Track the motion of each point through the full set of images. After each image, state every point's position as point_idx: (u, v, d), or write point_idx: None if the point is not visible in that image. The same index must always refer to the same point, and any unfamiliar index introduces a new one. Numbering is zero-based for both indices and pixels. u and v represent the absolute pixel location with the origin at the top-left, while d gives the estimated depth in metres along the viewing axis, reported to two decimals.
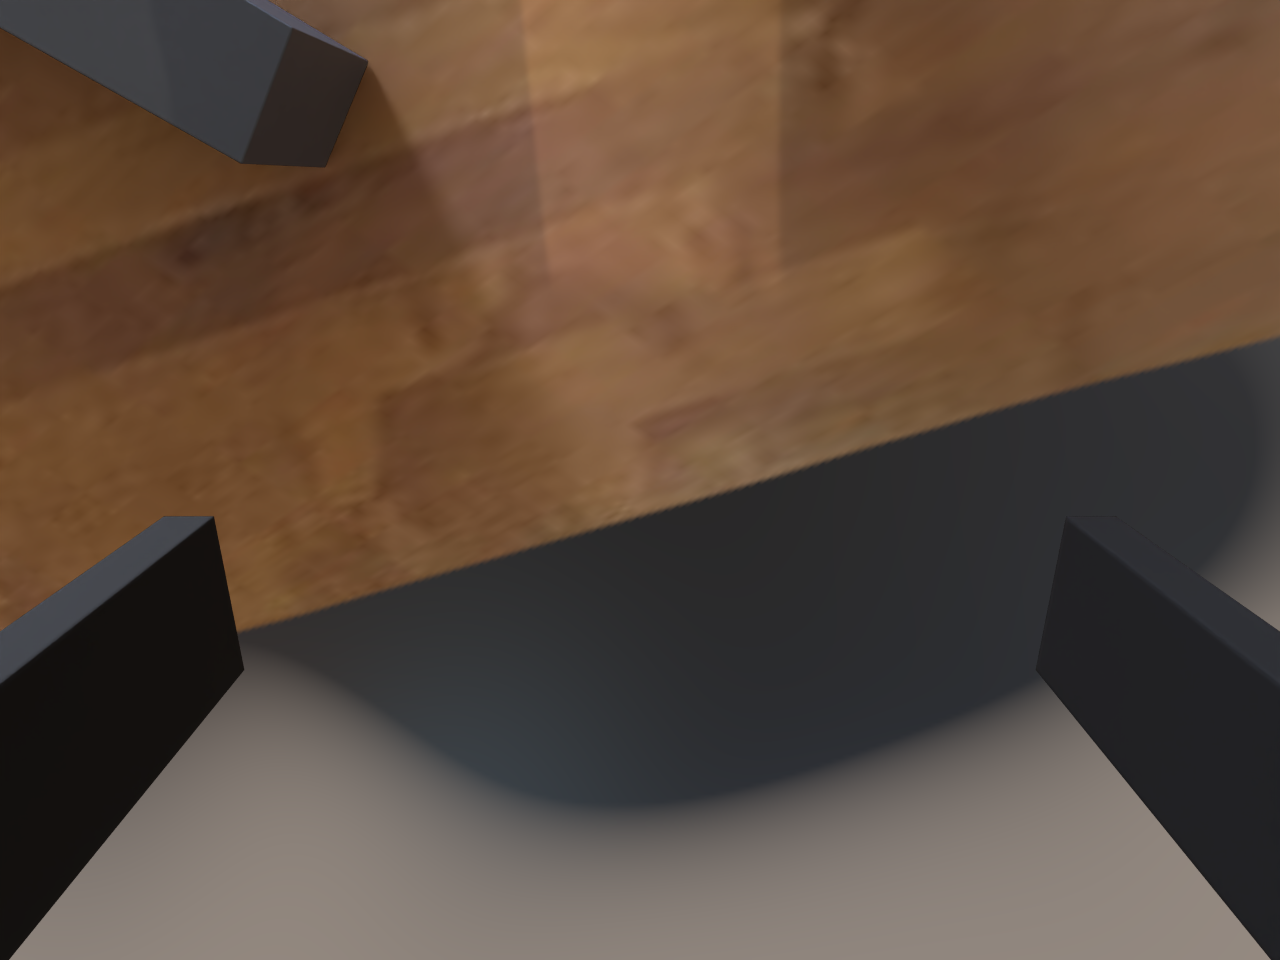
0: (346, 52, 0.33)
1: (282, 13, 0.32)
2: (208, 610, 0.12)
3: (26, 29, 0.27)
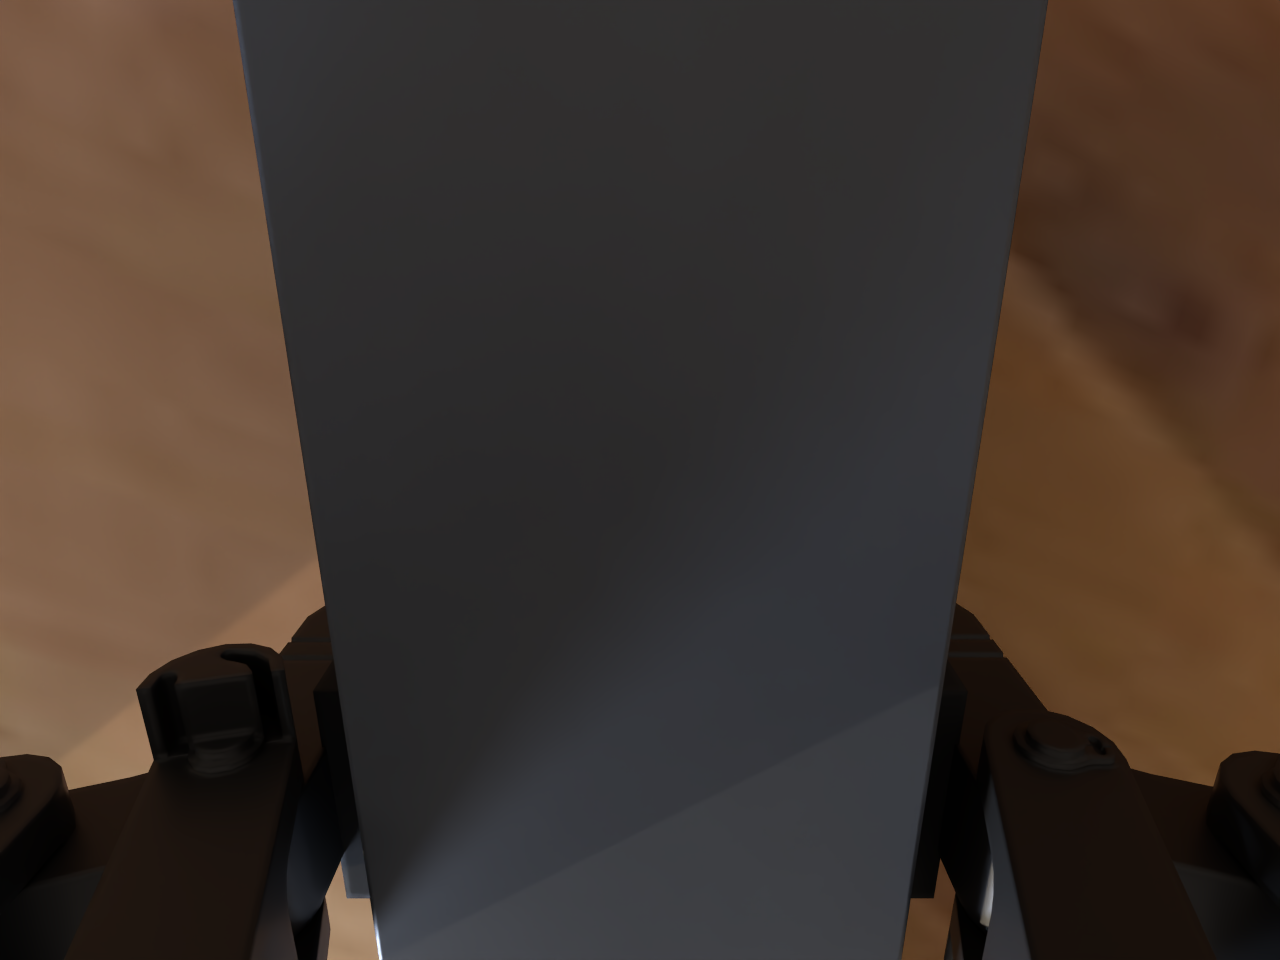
0: None
1: None
2: None
3: (870, 881, 0.07)
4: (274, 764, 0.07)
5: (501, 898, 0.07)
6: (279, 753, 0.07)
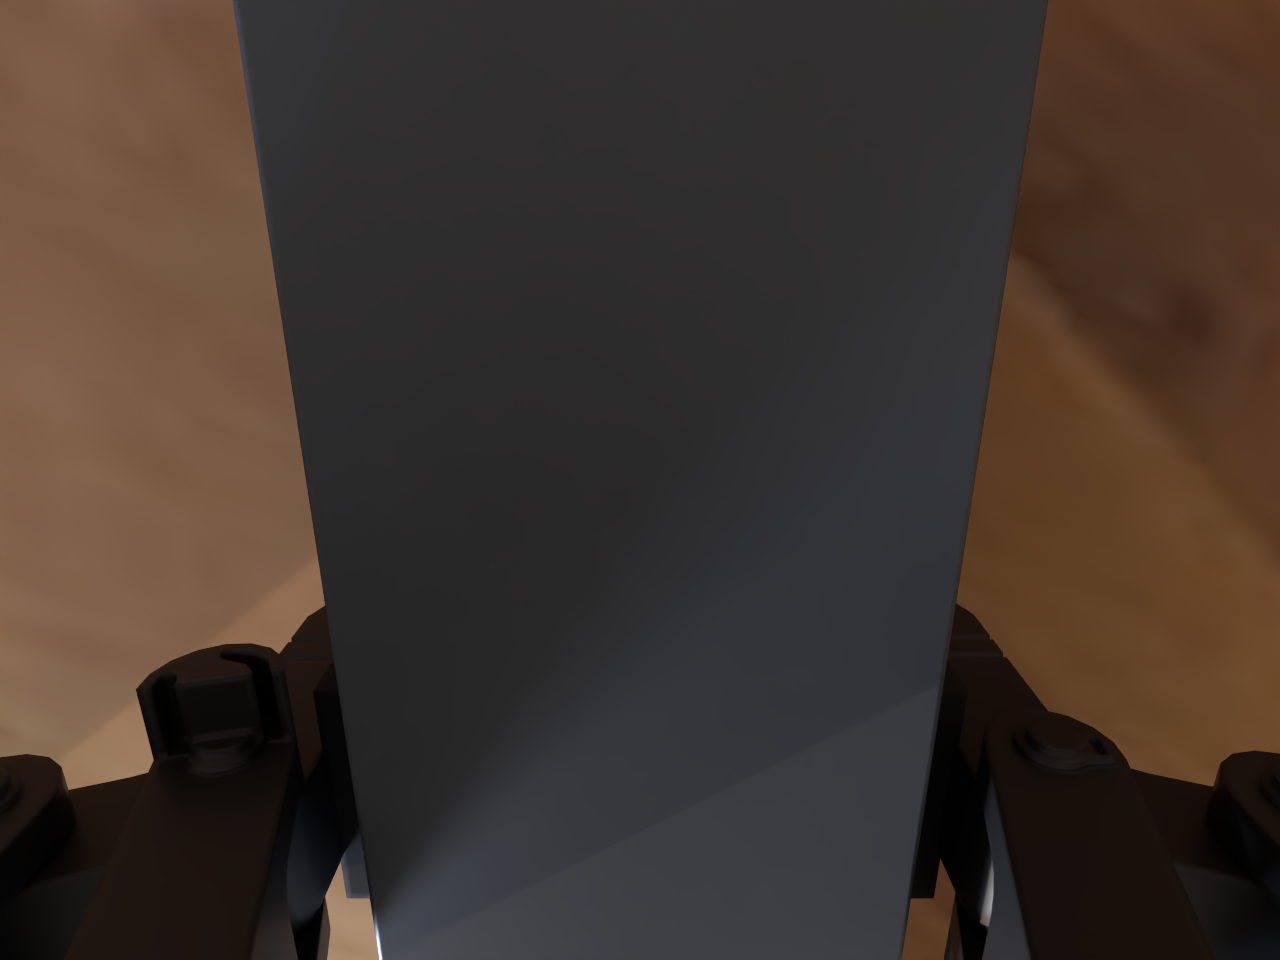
0: None
1: None
2: None
3: (870, 881, 0.07)
4: (274, 764, 0.07)
5: (501, 898, 0.07)
6: (279, 753, 0.07)
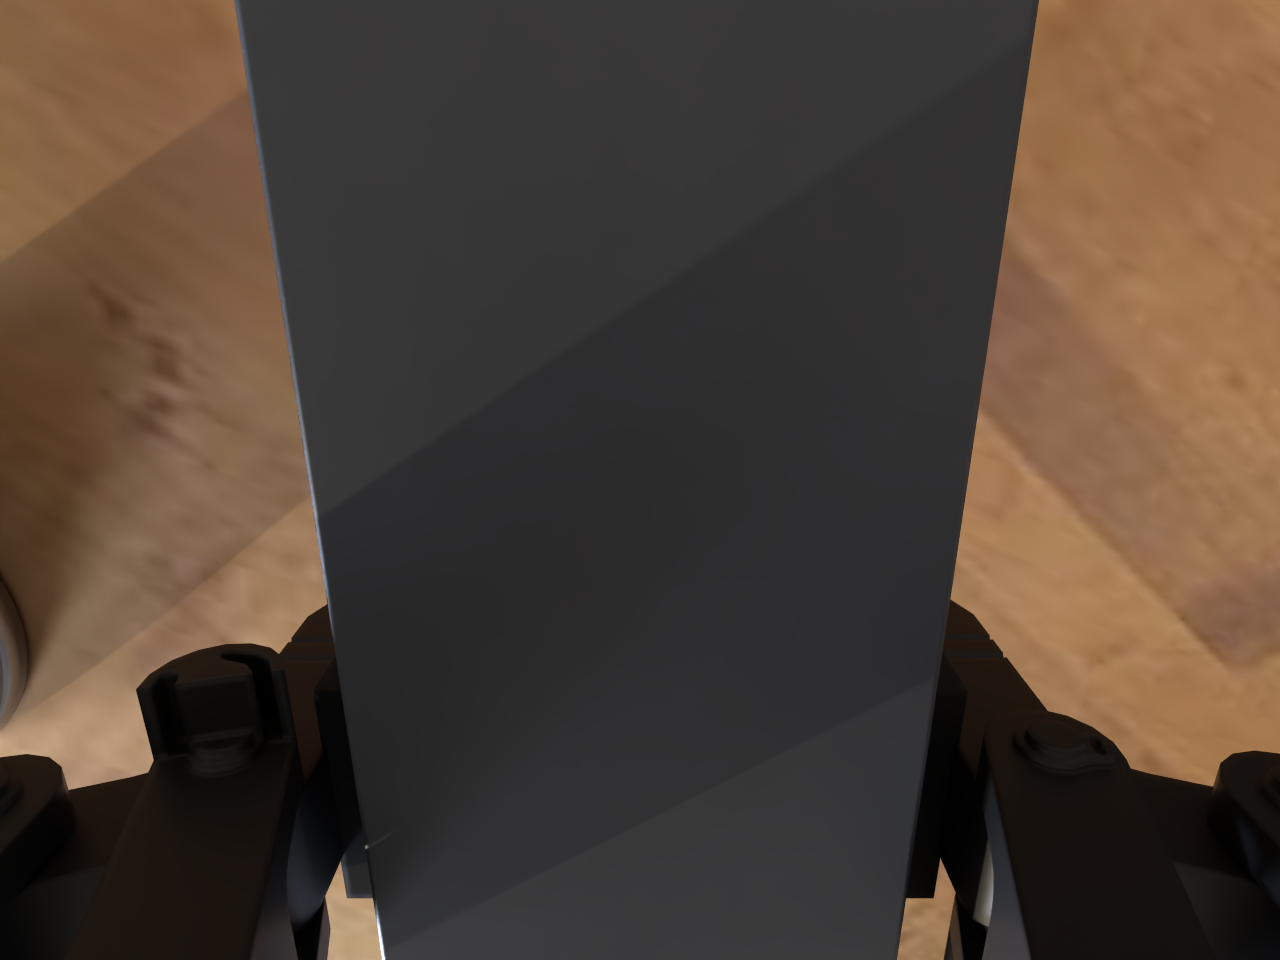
0: None
1: None
2: None
3: (867, 872, 0.07)
4: (274, 764, 0.07)
5: (502, 890, 0.07)
6: (279, 753, 0.07)
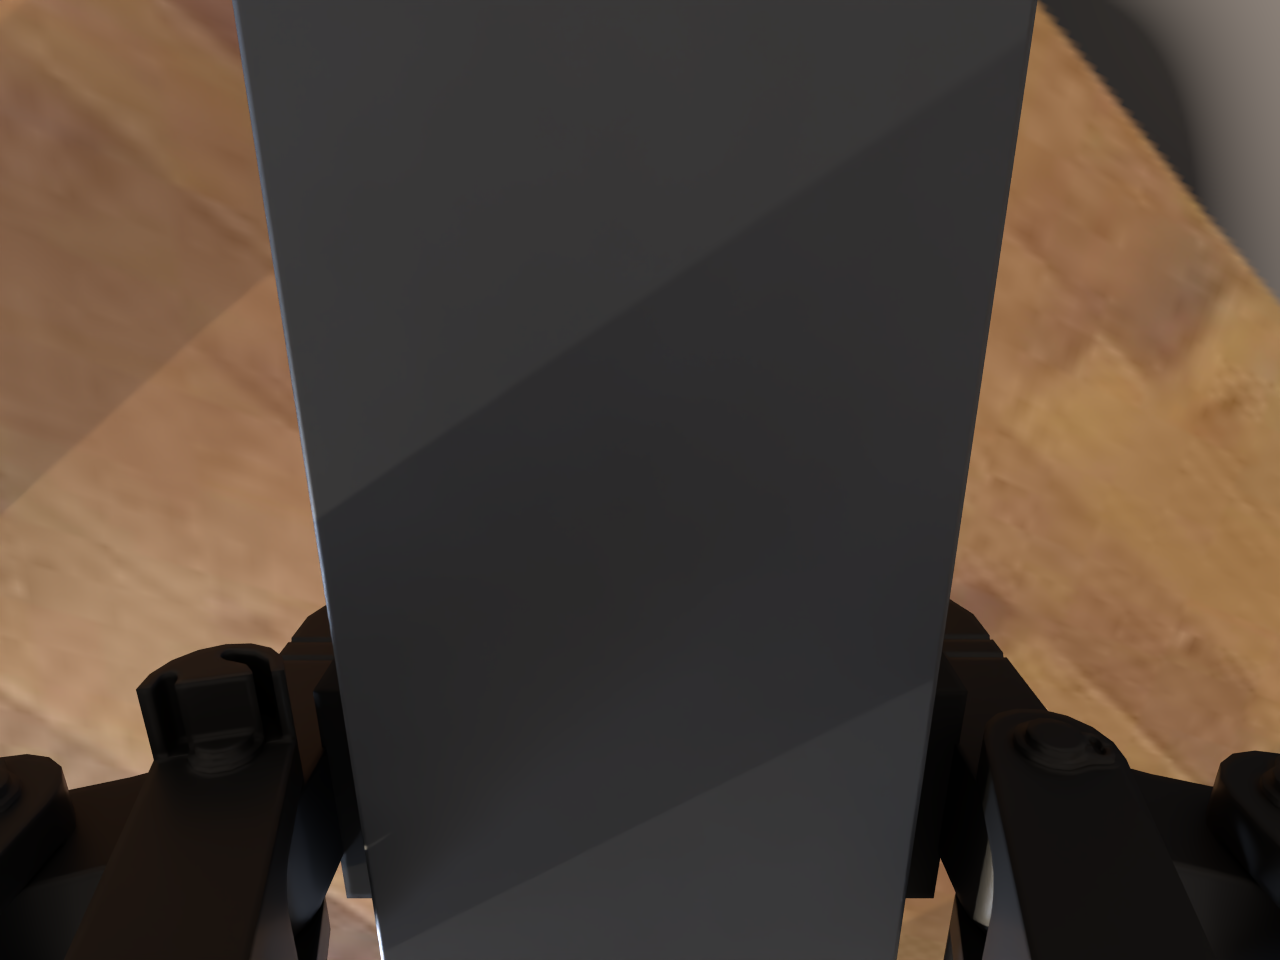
0: None
1: None
2: None
3: (866, 873, 0.07)
4: (274, 764, 0.07)
5: (501, 891, 0.07)
6: (279, 753, 0.07)
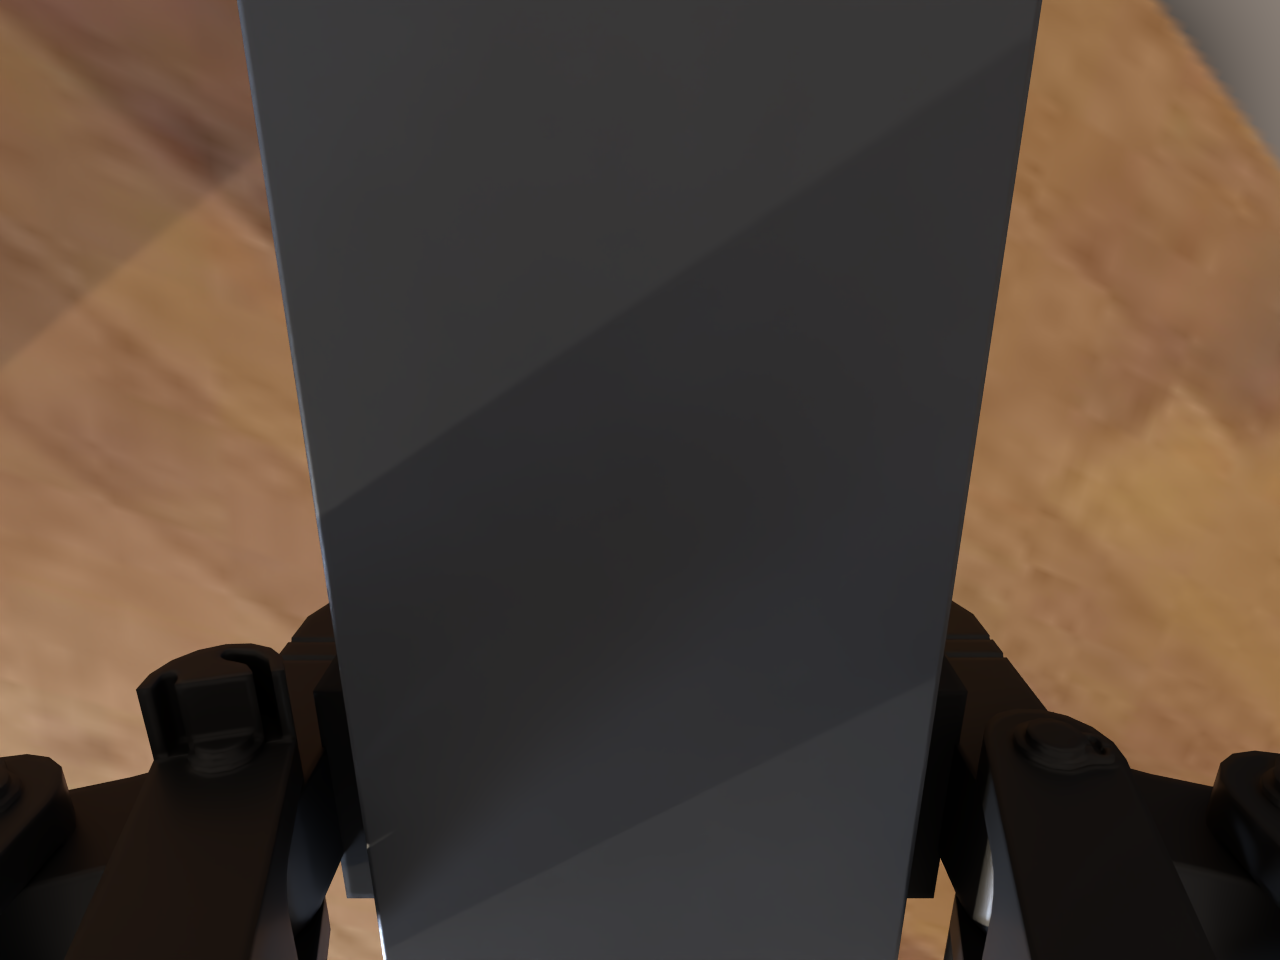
0: None
1: None
2: None
3: (868, 872, 0.07)
4: (274, 764, 0.07)
5: (503, 889, 0.07)
6: (279, 753, 0.07)
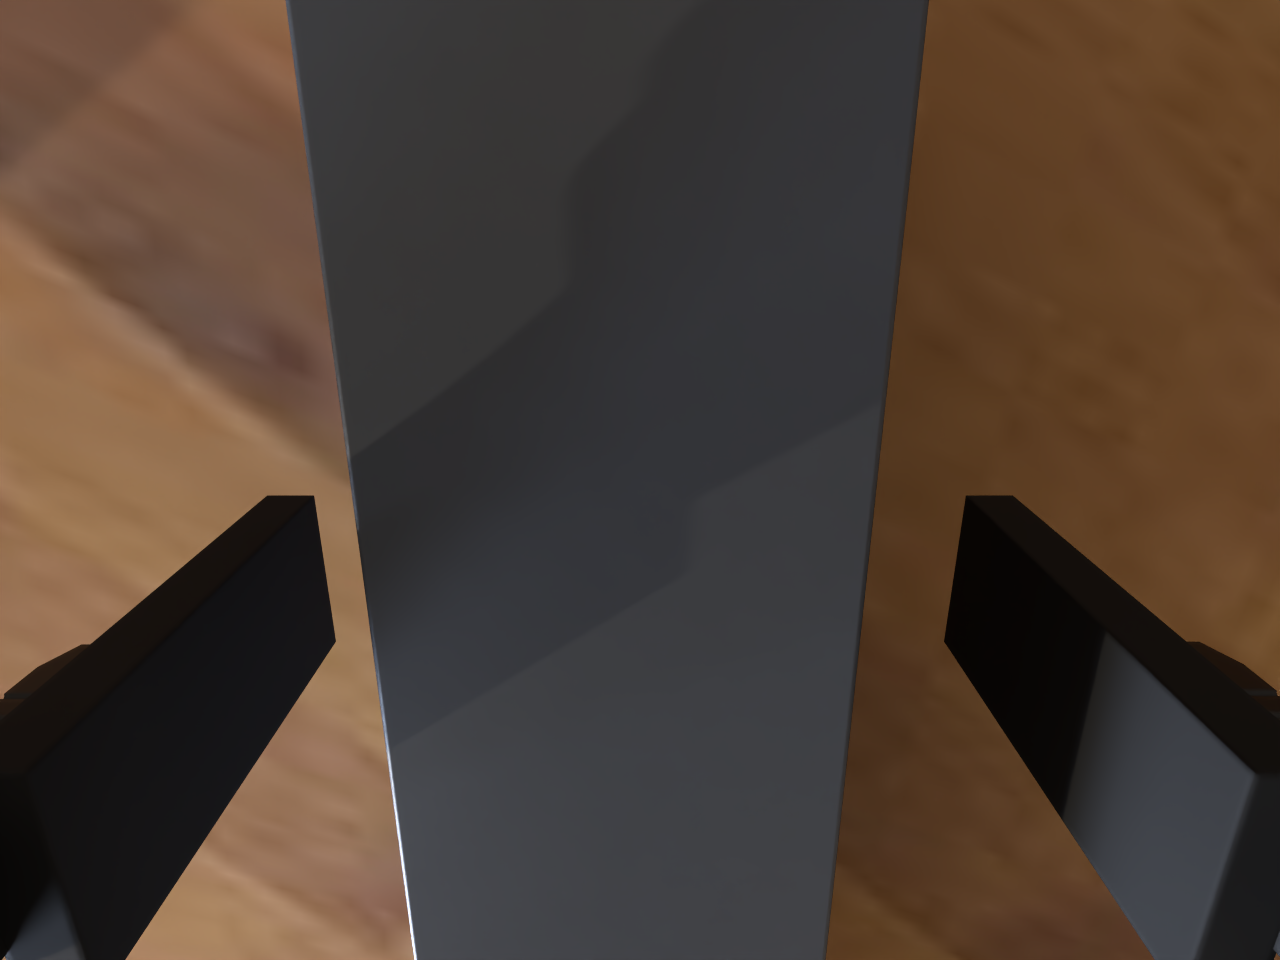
0: None
1: None
2: (310, 583, 0.13)
3: (807, 795, 0.09)
4: None
5: (503, 810, 0.09)
6: None
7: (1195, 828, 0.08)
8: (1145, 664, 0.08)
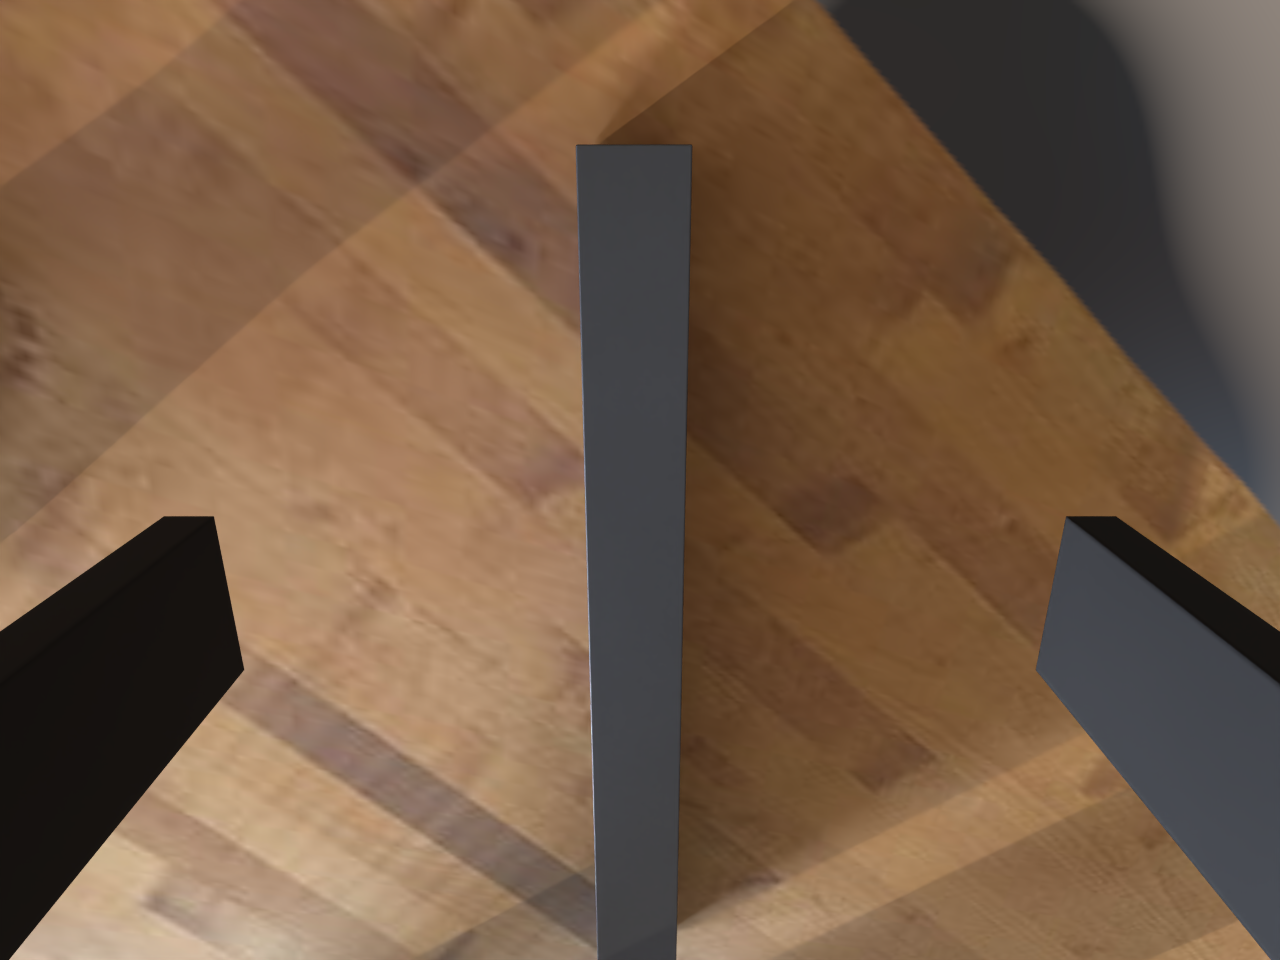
0: None
1: None
2: (208, 610, 0.12)
3: (679, 328, 0.37)
4: None
5: (607, 332, 0.37)
6: None
7: None
8: None
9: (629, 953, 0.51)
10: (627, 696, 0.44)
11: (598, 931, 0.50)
